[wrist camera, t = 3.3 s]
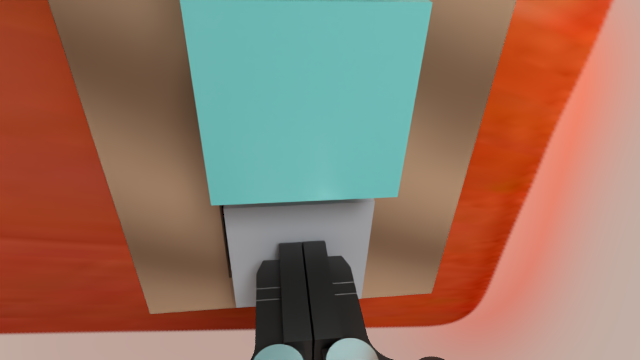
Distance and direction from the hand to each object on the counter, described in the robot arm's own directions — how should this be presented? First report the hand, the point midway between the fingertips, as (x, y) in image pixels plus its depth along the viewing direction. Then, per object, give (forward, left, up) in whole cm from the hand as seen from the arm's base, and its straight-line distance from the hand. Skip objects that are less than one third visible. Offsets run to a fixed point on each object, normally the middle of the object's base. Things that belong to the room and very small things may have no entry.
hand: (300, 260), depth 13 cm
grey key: (0, 0, -4) cm, 4 cm away
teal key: (-6, 0, -2) cm, 6 cm away
